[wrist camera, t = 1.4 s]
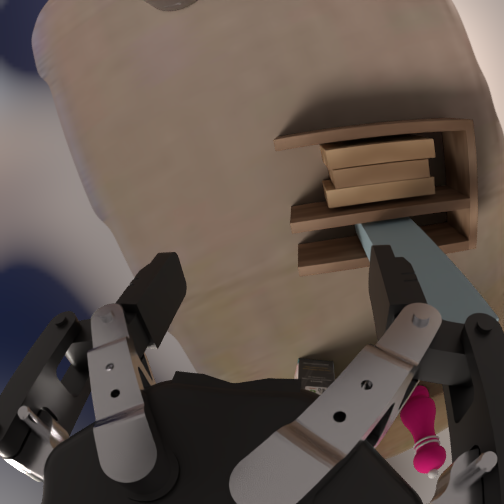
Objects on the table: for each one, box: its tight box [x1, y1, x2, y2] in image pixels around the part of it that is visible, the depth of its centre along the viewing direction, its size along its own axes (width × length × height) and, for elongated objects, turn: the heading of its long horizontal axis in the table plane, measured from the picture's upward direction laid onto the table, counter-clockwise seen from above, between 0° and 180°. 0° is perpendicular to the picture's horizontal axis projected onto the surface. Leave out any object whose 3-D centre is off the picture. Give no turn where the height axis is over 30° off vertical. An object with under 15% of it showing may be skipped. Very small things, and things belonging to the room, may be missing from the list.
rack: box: [273, 118, 478, 277], centre depth 34 cm, size 16×23×7 cm
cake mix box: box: [294, 358, 335, 395], centre depth 41 cm, size 22×6×30 cm, turn 176°
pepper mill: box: [400, 385, 446, 478], centre depth 43 cm, size 7×7×20 cm
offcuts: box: [320, 134, 435, 208], centre depth 33 cm, size 7×13×8 cm, turn 102°
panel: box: [355, 217, 499, 324], centre depth 28 cm, size 3×6×26 cm, turn 102°
